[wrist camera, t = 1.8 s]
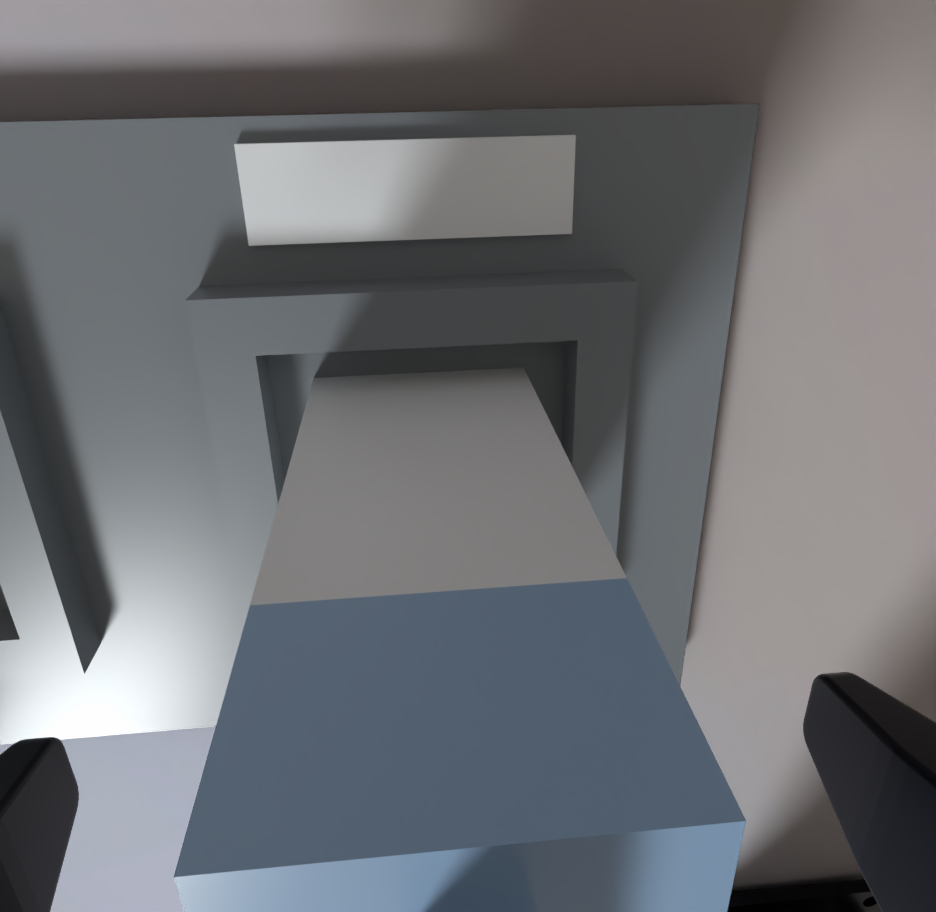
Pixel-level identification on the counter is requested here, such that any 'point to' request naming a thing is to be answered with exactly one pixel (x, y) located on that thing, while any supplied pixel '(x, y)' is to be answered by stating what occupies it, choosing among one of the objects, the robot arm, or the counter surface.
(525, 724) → the plug
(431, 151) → the panel
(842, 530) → the counter surface
